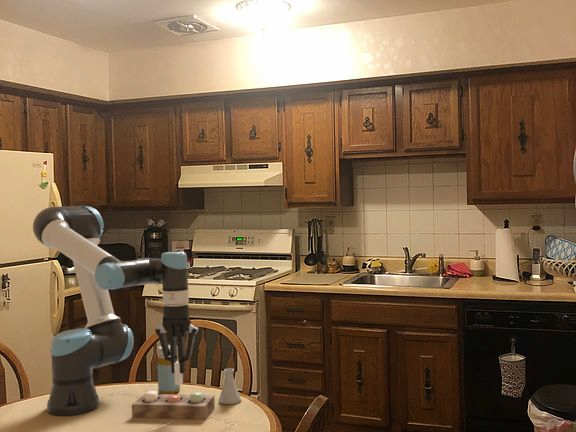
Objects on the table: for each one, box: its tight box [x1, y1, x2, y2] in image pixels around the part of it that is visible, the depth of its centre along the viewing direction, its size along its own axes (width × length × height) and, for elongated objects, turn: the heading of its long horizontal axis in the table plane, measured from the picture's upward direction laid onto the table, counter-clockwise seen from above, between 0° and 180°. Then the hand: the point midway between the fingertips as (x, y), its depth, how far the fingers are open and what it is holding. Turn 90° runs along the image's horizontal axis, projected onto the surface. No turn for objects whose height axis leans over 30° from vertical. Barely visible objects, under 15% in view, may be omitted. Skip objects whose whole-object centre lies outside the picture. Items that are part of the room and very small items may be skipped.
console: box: [131, 393, 216, 421], centre depth 183 cm, size 22×10×4 cm, turn 82°
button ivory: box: [143, 390, 159, 402], centre depth 184 cm, size 4×4×4 cm
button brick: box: [167, 394, 181, 402], centre depth 183 cm, size 4×4×4 cm
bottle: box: [157, 344, 181, 394], centre depth 204 cm, size 7×7×15 cm
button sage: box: [189, 391, 204, 403], centre depth 182 cm, size 4×4×4 cm
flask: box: [218, 368, 242, 405], centre depth 193 cm, size 7×7×10 cm
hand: (179, 384), depth 182 cm, fingers closed
